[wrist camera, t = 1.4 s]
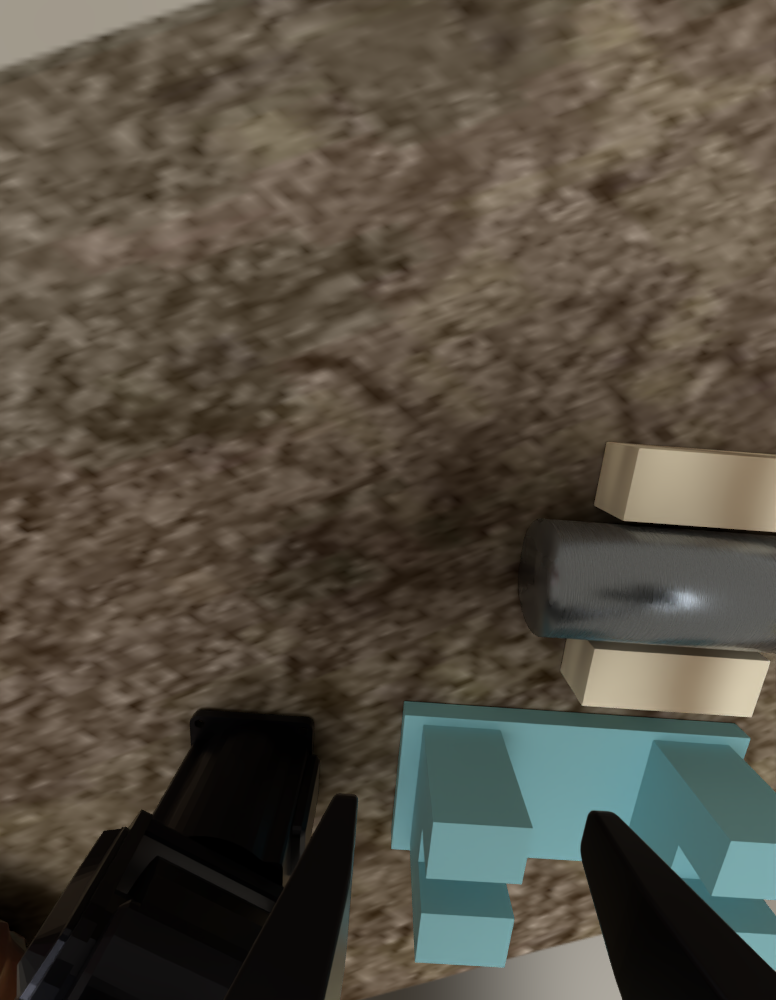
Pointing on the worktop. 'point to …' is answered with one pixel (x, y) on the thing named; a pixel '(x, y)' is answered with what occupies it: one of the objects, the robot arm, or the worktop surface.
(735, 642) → the grey rounded rod
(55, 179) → the worktop surface
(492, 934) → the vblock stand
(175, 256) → the worktop surface
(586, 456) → the worktop surface
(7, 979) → the butternut squash
